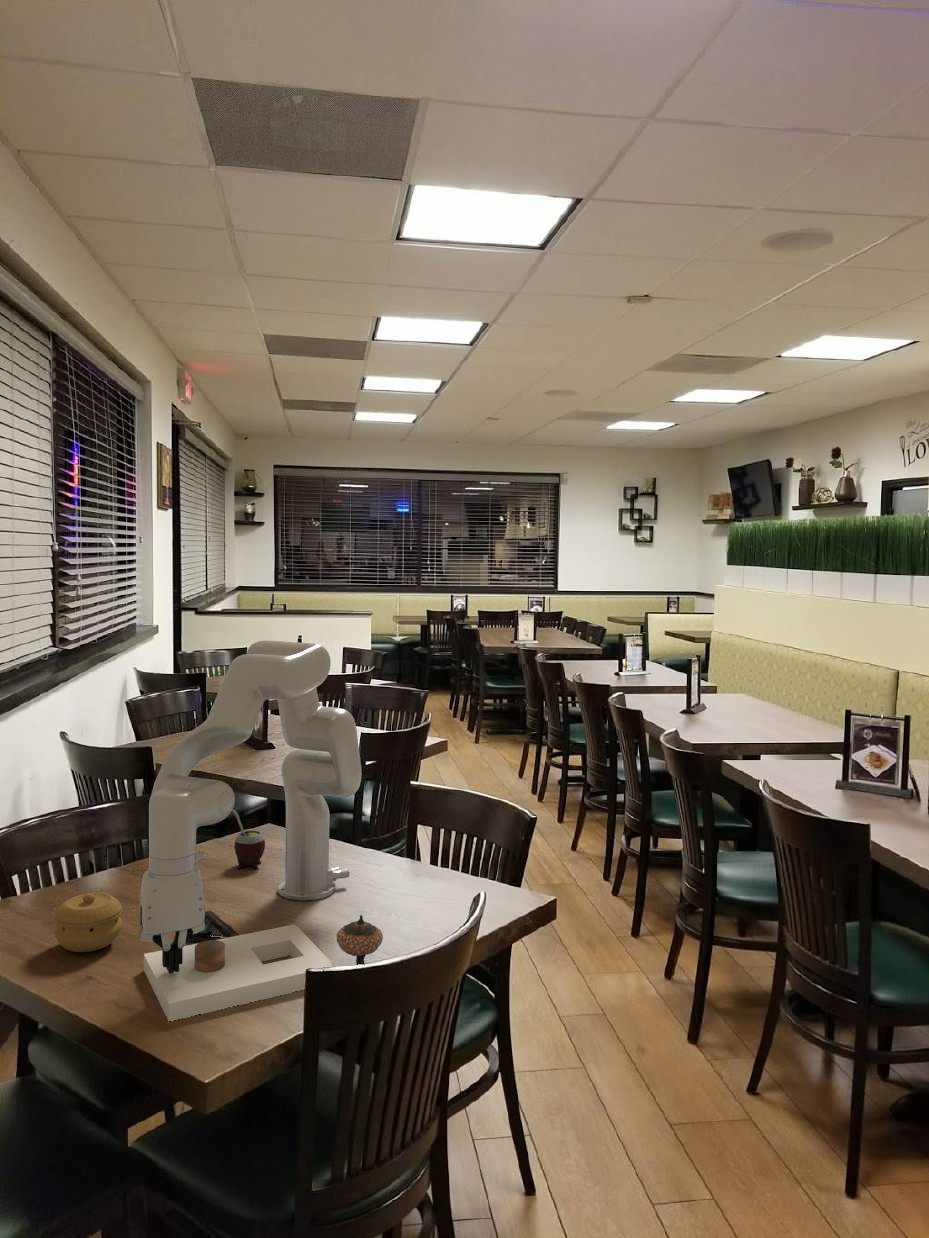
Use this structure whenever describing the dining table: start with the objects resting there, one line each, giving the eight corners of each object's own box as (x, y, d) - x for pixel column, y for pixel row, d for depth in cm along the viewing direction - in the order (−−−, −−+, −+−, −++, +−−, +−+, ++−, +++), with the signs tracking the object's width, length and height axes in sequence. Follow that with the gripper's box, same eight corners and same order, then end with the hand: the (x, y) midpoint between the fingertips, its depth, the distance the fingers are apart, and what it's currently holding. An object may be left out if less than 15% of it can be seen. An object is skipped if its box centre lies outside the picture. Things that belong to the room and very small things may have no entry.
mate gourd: (270, 866, 211) (271, 804, 210) (242, 874, 205) (243, 811, 204) (252, 859, 216) (252, 798, 215) (224, 866, 210) (224, 804, 209)
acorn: (327, 973, 157) (328, 918, 156) (351, 954, 164) (352, 902, 164) (367, 983, 154) (368, 927, 153) (390, 963, 161) (391, 910, 161)
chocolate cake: (257, 939, 171) (223, 889, 175) (242, 944, 165) (207, 892, 168) (219, 972, 171) (186, 921, 175) (203, 977, 164) (169, 924, 168)
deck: (295, 939, 171) (295, 924, 170) (334, 982, 153) (334, 965, 153) (143, 970, 156) (143, 953, 156) (168, 1022, 139) (168, 1003, 139)
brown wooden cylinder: (220, 957, 156) (220, 937, 155) (228, 968, 151) (228, 948, 151) (191, 963, 153) (191, 943, 153) (198, 975, 149) (198, 954, 148)
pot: (73, 932, 172) (72, 881, 171) (132, 934, 171) (132, 883, 171) (42, 958, 160) (42, 905, 159) (106, 961, 160) (106, 907, 159)
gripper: (211, 850, 155) (211, 951, 156) (121, 863, 147) (121, 969, 148) (223, 863, 148) (222, 969, 149) (129, 877, 141) (129, 988, 142)
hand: (172, 969), depth 149 cm, fingers closed
